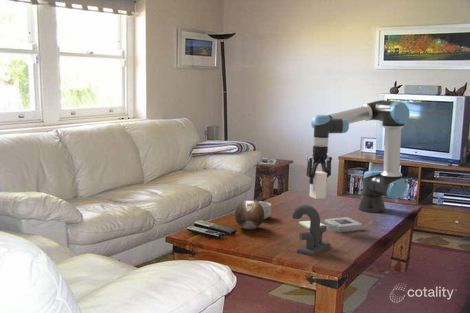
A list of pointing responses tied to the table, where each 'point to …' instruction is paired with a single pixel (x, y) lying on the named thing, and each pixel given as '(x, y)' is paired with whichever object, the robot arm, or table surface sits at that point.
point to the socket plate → (343, 224)
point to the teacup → (266, 208)
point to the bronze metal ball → (249, 214)
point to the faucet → (311, 231)
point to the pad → (307, 224)
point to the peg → (319, 185)
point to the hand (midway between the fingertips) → (317, 189)
